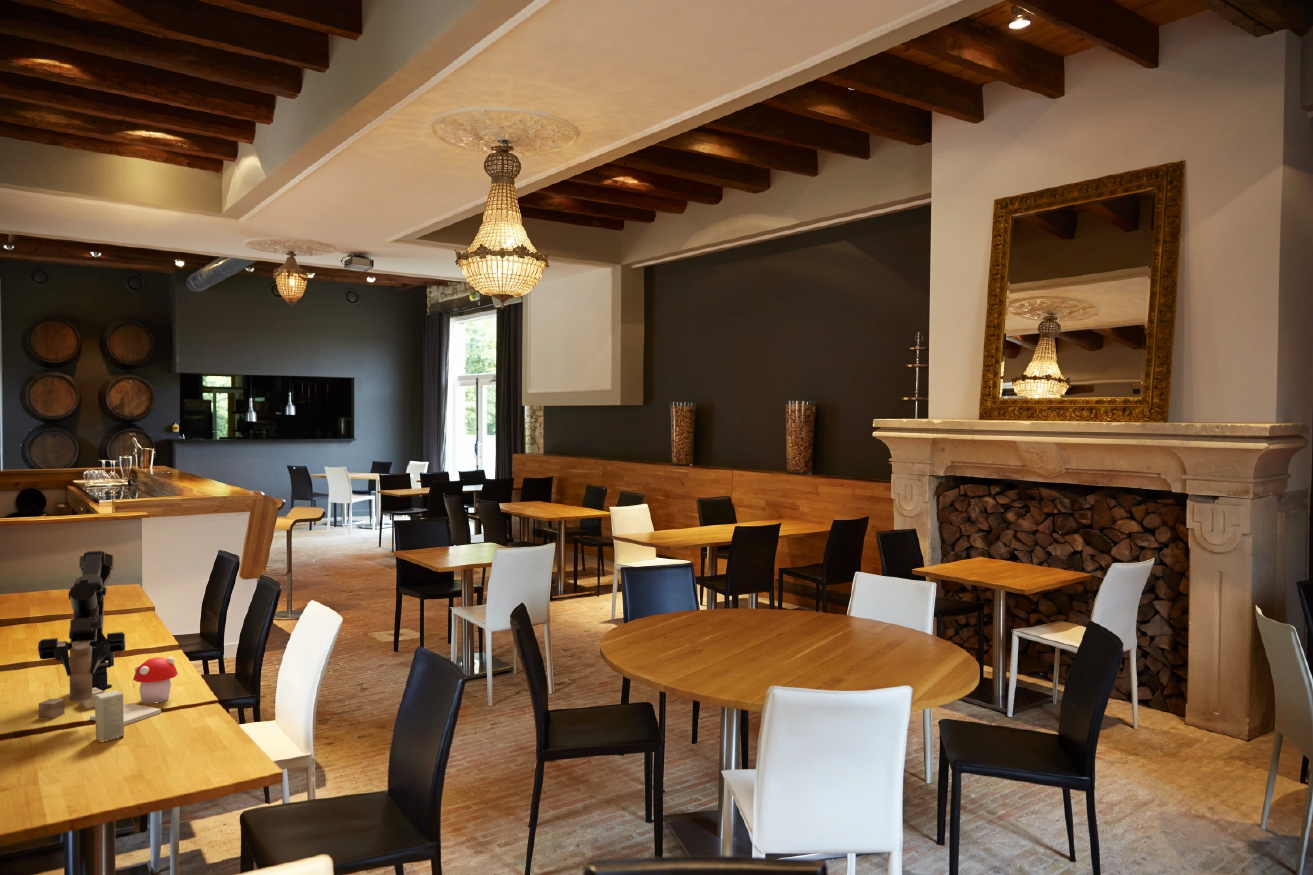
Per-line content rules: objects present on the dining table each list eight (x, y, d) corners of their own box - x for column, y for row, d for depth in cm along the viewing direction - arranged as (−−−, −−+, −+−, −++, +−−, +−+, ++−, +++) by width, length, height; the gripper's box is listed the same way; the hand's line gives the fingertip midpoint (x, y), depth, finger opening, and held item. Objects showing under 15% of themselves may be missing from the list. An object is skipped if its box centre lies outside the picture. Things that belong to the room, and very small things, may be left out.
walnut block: (38, 718, 225) (38, 703, 225) (49, 713, 229) (49, 698, 229) (53, 718, 225) (53, 703, 224) (64, 713, 229) (64, 698, 228)
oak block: (79, 705, 235) (79, 690, 235) (95, 701, 239) (95, 687, 239) (86, 709, 232) (86, 694, 232) (103, 705, 236) (103, 690, 236)
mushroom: (127, 707, 234) (127, 663, 234) (139, 695, 244) (140, 653, 244) (170, 704, 237) (170, 661, 236) (181, 692, 247) (181, 651, 247)
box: (118, 733, 215) (118, 689, 214) (124, 737, 212) (124, 692, 212) (94, 739, 211) (94, 694, 210) (100, 743, 208) (100, 698, 208)
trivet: (90, 719, 224) (90, 715, 224) (129, 706, 234) (129, 703, 234) (122, 726, 220) (122, 722, 220) (160, 712, 230) (160, 709, 230)
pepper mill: (65, 699, 219) (65, 643, 219) (83, 694, 223) (83, 639, 223) (78, 702, 217) (78, 645, 217) (96, 696, 222) (96, 640, 221)
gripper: (39, 608, 219) (32, 662, 209) (124, 601, 228) (121, 653, 218) (43, 632, 226) (37, 685, 216) (126, 624, 235) (123, 675, 225)
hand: (80, 674), depth 219 cm, fingers closed on pepper mill, 5 cm apart
